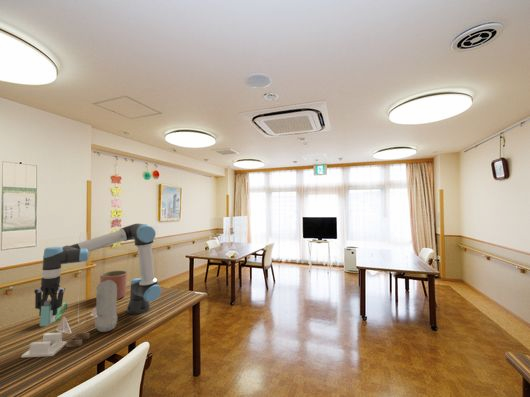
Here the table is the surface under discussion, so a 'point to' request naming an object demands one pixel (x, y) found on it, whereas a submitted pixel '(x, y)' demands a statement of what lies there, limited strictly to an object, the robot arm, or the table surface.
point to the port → (46, 346)
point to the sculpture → (106, 306)
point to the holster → (77, 336)
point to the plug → (46, 313)
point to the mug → (61, 311)
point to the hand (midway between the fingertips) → (47, 321)
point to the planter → (116, 281)
